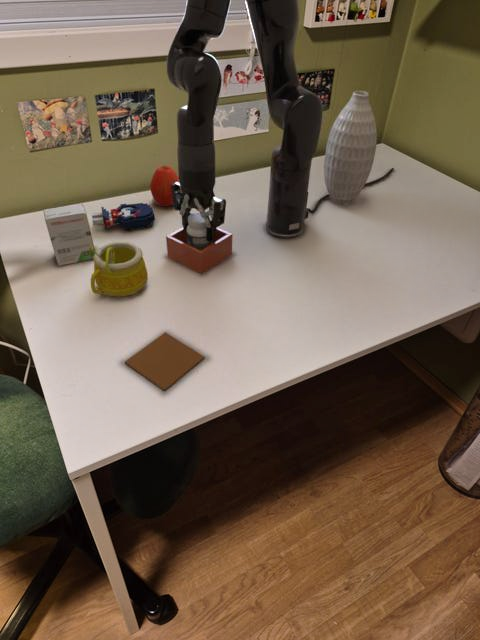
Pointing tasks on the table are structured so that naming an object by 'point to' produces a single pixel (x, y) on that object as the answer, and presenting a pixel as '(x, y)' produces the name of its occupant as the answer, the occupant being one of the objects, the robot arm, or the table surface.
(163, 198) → the red egg-shaped piece
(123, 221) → the figurine
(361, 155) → the vase
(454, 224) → the table surface
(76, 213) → the ink box
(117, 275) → the mug
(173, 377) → the cork pad
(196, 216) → the pill bottle
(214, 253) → the planter
